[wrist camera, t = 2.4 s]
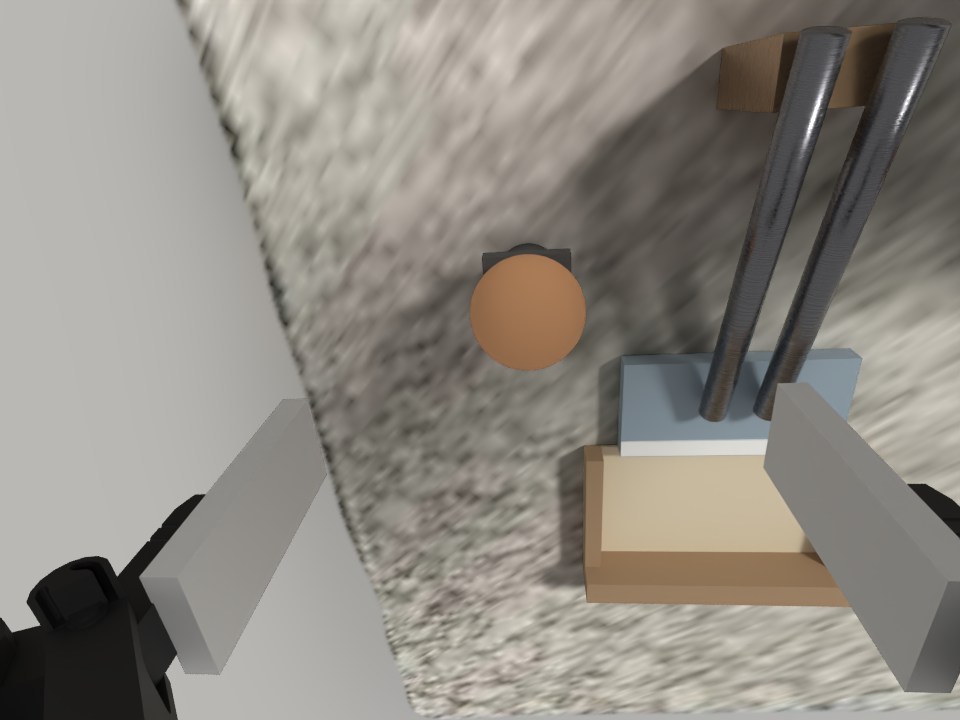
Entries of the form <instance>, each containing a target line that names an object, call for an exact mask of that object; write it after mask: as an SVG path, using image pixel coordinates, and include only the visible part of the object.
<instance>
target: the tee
mask: <svg viewBox="0 0 960 720" xmlns="http://www.w3.org/2000/svg"><path fill="white" fill-rule="evenodd" d="M523 254H534V255H541V256H544V257H548V258H550V259H552V260H555V261H556V262H558V263H560V264H561V265H563V266H564V267H565V268H566V269H568V270H569V271H570V272H571V252H570V249H552V250H547V249H545V248H544V247H542V246H539V245H536V244H521V245H518V246H515V247H513V248H512V249H510V250H509V251H508V252H495V253H483V256H482V266H483V275H484V274H485V273H486V272H487V271H488V270H489V269H490V268H492V267H493V266H494V265H496V264H497V263H499V262H500V261H502V260H504V259H507V258H509V257H512V256H516V255H523Z"/></svg>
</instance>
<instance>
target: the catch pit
mask: <svg viewBox="0 0 960 720" xmlns="http://www.w3.org/2000/svg"><path fill="white" fill-rule="evenodd" d="M764 459H765V455H737V456H654V457H620V453H619V449H618V445H591V446H584V501H583V571H584V580H585V589H586V598H587V603H643V604H705V605H768V606H830V607H851V606H850V604H849V603H848V601H847V600H846V598H845V596H844V595H843V593H842V592H841V590H840V589H839V587H838V585H837V584H836V582H835V581H834V579H833V577H832V576H831V574H830V573H829V571H828V569H827V568H826V566H825V565H824V563H823V562H822V560H821V558H820V557H819V555H818V554H817V552H816V550H815V549H814V547H813V546H812V544H811V542H810V541H809V539H808V538H807V536H806V535H805V533H804V531H803V530H802V528H801V527H800V525H799V523H798V522H797V520H796V519H795V517H794V516H793V514H792V512H791V511H790V509H789V508H788V506H787V504H786V503H785V501H784V500H783V498H782V496H781V495H780V493H779V492H778V490H777V489H776V487H775V485H774V484H773V482H772V481H771V479H770V477H769V476H768V474H767V473H766V471H765V469H764V468H763V465H764Z"/></svg>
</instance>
